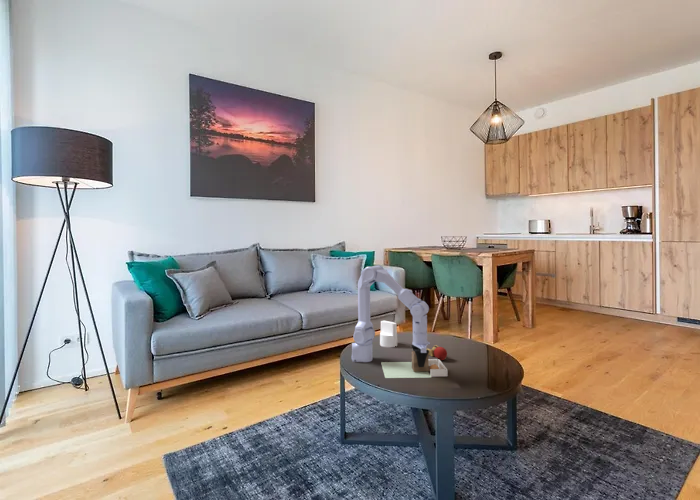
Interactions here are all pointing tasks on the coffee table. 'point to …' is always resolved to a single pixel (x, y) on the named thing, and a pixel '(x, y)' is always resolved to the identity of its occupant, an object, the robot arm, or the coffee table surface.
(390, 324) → the cylinder with rectangular tab
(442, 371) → the pitch
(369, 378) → the coffee table surface
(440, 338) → the coffee table surface
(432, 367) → the ball
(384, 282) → the robot arm
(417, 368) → the tall cardboard box
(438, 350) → the kendama
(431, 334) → the coffee table surface
